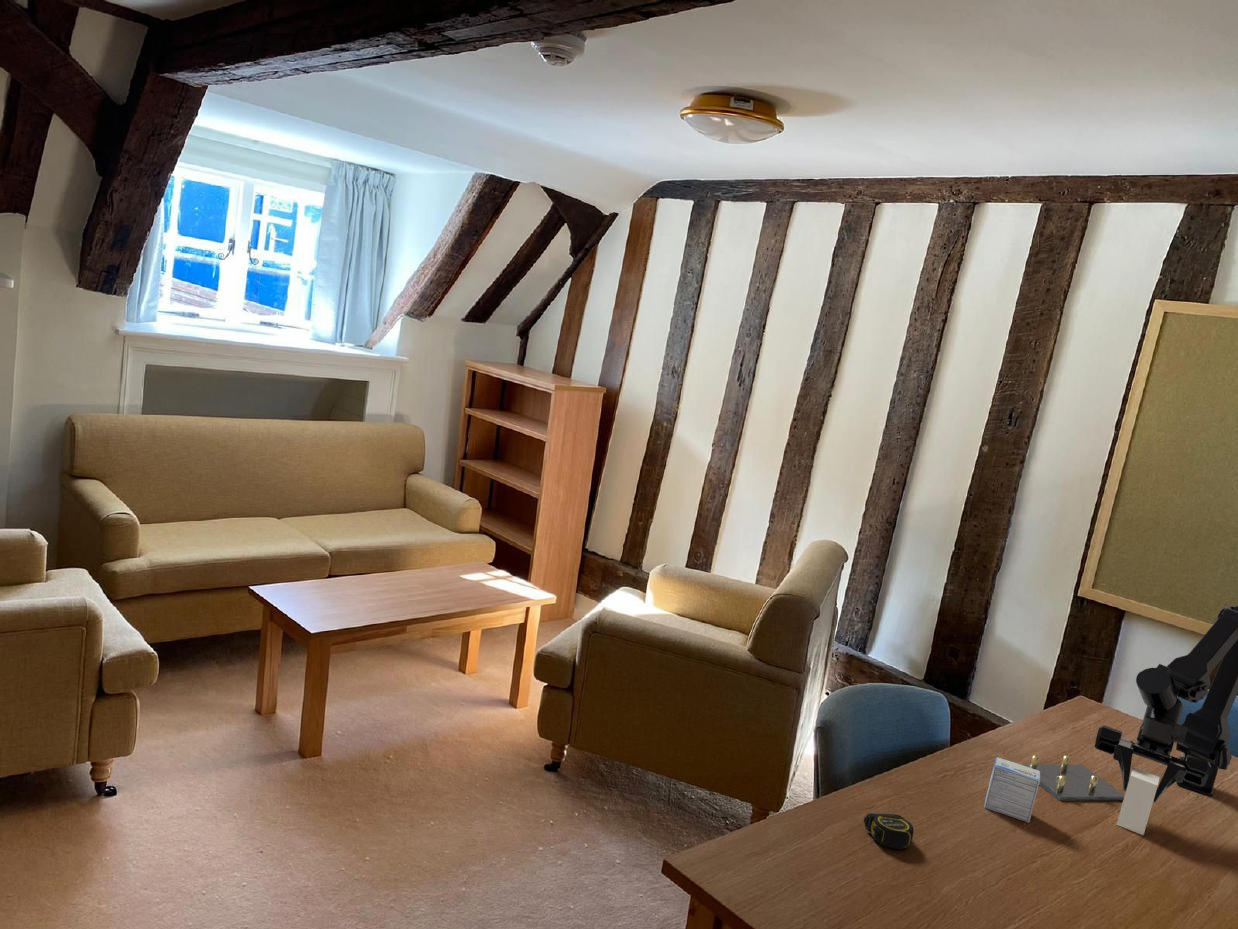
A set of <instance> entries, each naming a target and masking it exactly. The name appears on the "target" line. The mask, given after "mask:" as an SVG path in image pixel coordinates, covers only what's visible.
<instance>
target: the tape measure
mask: <svg viewBox="0 0 1238 929" xmlns="http://www.w3.org/2000/svg"><path fill="white" fill-rule="evenodd" d="M863 824H864V827H865V830H866V831H867V832H869V833H871V836H872V838H873V839H874V840H875V841H876V842H877V843H879V844H881V845H883V846H885V847H888V848H892V849H899V850H900V849H902V850H903V849H906V848H909V846H911V844H912V842H913V837H914V826H913V824H912V823H911V822H910V821H909V820H907V819H906V818H904V816H901V815H900V814H895V813H893V814H892V813H873V812H872V813H871V812H870V813H867V814H866V815H864V816H863Z"/></svg>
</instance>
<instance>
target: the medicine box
mask: <svg viewBox="0 0 1238 929" xmlns="http://www.w3.org/2000/svg"><path fill="white" fill-rule="evenodd" d="M1023 765H1024V764H1020V763H1017V762H1013V761H1011V760H1008V759H1004V758H1001V757H999V756H998V757H996V758H995V760H994V765H993V768H992V772H991V776H990V779H989V783H988V789H987V792H986V795H985V796H986V797H985V801H984V806H983V808H984V809H988V810H990V811H992V812H995V813H999V814H1002V815H1004V816H1008V817H1011V818H1014V819H1018V820H1020V821H1023V822H1026V823H1030V822H1031V817H1032V813H1033V810H1034V805H1035V802H1036V798H1037V793H1038V790H1039V786H1040V785H1039V784H1040V771H1038V770H1035V769H1032V768H1029V767H1026V766H1023Z"/></svg>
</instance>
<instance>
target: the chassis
mask: <svg viewBox="0 0 1238 929" xmlns="http://www.w3.org/2000/svg"><path fill="white" fill-rule="evenodd" d="M1039 760H1040V756H1039V755H1036V754H1032V757H1031V760H1030V761H1031V762H1030V764H1022V765H1023V766H1026V767H1029V768H1032V769H1035V770H1038V771H1040V784H1039V786H1040V787H1041V788H1043V789H1044V790H1045V791H1046V792H1048V793H1049V794H1050V795H1051V796H1052V797H1054V798H1055V799H1056V800H1058V801H1059V802H1062V801H1068V802H1069V801H1071V802H1073V801H1123V800H1124V797H1125V794H1124V793H1122V792H1121V791H1120V790H1119V789H1116V788H1115V787H1114V786H1112V784H1110V783H1108V782H1107V781H1105V779H1102V777H1100V776H1099V775H1098V774H1096V773H1094V772H1093V771H1091V770H1090V769H1089V768H1087V767H1086V766H1084V765H1083V764H1070V760H1071V757H1070V756H1069V755H1066V754H1065V755H1063V757H1062V761H1061V764H1039Z"/></svg>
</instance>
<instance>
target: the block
mask: <svg viewBox="0 0 1238 929" xmlns="http://www.w3.org/2000/svg"><path fill="white" fill-rule="evenodd" d="M1160 778H1161V777H1160V776H1158V775H1155V774H1152V773H1150V772H1147V771H1144V770H1141V769H1140V768H1136V767H1132V769H1131V771H1130V777H1129V782H1128V786H1127V789H1126V791H1125V794H1124V795H1125V797H1124V800H1122V804H1121V808H1120V811H1119V814H1118V818H1117V822H1116V825H1117V826H1118V827H1121V828H1123V829H1126V830H1128V831H1131V832H1133V833H1137V834H1139V835H1142V836H1144V835H1145V830H1146V828H1147V824H1148V820H1149V818H1150V814H1151V810H1152V807H1153V805H1154V802H1153V801H1154V797H1155V794H1156V790H1157V788H1158V786H1159V784H1160Z"/></svg>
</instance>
